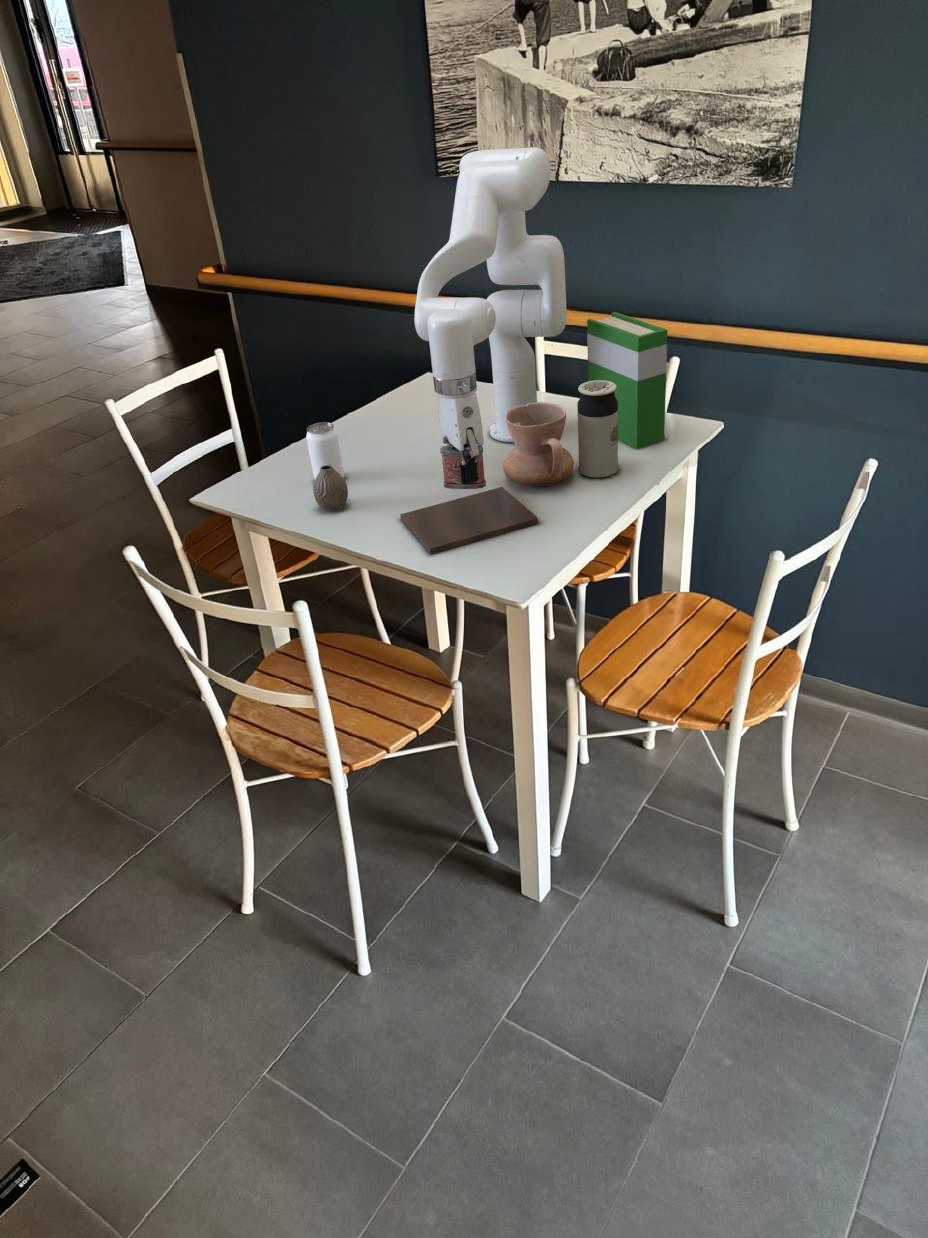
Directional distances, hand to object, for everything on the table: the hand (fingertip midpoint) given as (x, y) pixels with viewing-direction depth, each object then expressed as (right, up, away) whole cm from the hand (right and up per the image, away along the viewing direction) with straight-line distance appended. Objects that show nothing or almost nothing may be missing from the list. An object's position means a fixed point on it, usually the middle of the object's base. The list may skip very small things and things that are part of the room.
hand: (464, 476), depth 176 cm
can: (-29, +3, +27) cm, 40 cm away
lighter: (0, -2, +1) cm, 2 cm away
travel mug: (+28, +4, +19) cm, 34 cm away
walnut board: (+1, -8, +5) cm, 9 cm away
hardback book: (+36, +15, +34) cm, 52 cm away
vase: (-27, -4, +16) cm, 31 cm away
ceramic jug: (+16, +2, +18) cm, 24 cm away
